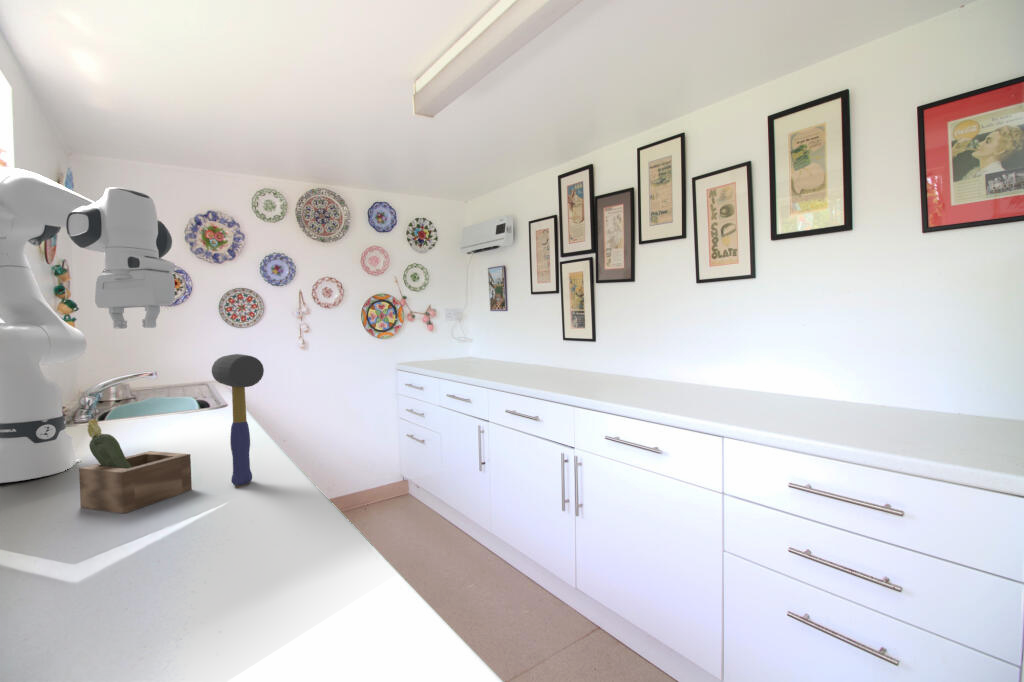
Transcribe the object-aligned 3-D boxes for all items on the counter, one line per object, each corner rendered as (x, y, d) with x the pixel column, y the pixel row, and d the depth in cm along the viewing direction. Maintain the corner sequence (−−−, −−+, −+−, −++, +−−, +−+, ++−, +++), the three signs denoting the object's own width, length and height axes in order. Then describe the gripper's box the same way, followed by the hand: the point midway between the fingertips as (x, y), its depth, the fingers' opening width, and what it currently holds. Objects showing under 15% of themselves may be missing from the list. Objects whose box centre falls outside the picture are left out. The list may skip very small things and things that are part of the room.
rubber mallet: (271, 486, 96) (266, 353, 95) (233, 497, 90) (227, 355, 89) (249, 476, 104) (244, 353, 103) (213, 485, 98) (207, 354, 97)
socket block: (80, 507, 87) (78, 468, 87) (151, 485, 99) (150, 451, 99) (123, 513, 83) (121, 472, 83) (191, 489, 95) (190, 454, 95)
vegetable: (137, 501, 88) (75, 422, 86) (128, 508, 89) (67, 430, 87) (160, 488, 92) (101, 412, 90) (151, 495, 93) (93, 420, 92)
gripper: (84, 265, 93) (86, 329, 93) (147, 259, 87) (149, 327, 87) (118, 269, 99) (120, 329, 99) (180, 263, 93) (182, 327, 93)
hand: (134, 328), depth 93 cm, fingers open, 8 cm apart
